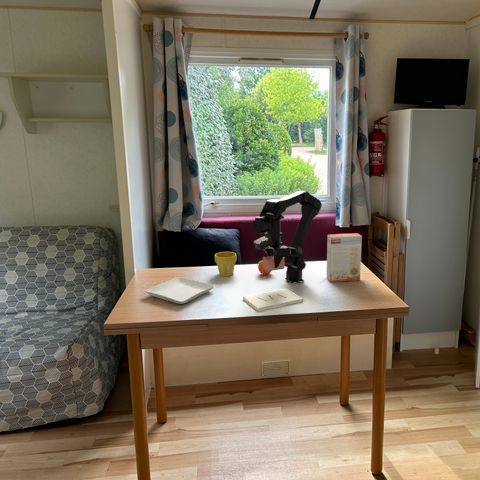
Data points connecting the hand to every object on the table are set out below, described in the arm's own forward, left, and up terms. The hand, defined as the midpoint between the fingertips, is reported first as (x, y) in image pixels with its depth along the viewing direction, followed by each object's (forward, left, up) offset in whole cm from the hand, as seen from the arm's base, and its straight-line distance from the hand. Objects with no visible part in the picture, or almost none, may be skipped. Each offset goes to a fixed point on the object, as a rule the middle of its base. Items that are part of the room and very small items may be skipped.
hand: (273, 266), depth 170 cm
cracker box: (-33, +5, -10) cm, 35 cm away
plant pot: (+11, -27, -10) cm, 31 cm away
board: (+7, +11, -10) cm, 17 cm away
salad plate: (+38, -12, -11) cm, 41 cm away
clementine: (-5, -18, -10) cm, 22 cm away
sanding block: (0, 0, -1) cm, 1 cm away
